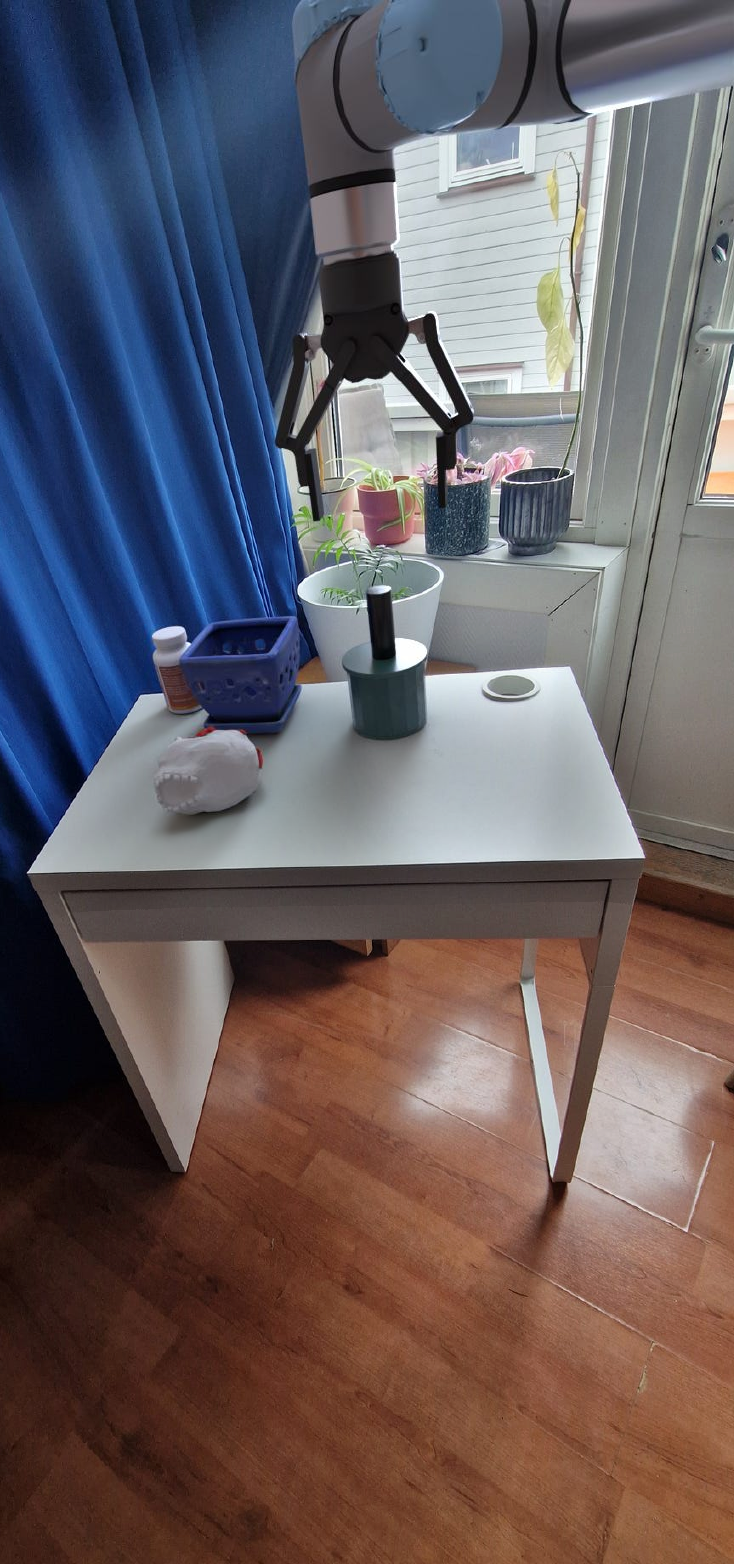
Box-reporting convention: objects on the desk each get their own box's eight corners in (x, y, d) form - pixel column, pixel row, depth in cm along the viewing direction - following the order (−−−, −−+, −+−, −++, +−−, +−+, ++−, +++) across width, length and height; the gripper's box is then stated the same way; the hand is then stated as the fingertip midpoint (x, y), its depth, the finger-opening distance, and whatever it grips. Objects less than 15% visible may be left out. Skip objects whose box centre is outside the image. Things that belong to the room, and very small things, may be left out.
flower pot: (196, 743, 99) (173, 659, 91) (227, 698, 108) (208, 618, 101) (290, 742, 95) (273, 655, 88) (313, 695, 105) (300, 613, 97)
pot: (429, 703, 99) (426, 642, 93) (423, 738, 91) (419, 675, 86) (359, 705, 101) (352, 646, 95) (348, 740, 94) (340, 678, 88)
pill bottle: (217, 701, 108) (199, 628, 101) (184, 719, 105) (163, 644, 98) (192, 692, 112) (173, 620, 105) (160, 709, 109) (137, 636, 102)
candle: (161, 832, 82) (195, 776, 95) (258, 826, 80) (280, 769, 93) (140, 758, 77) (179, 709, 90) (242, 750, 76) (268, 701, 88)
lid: (430, 644, 94) (427, 571, 88) (423, 681, 86) (419, 603, 80) (350, 649, 96) (341, 577, 90) (336, 685, 88) (326, 609, 83)
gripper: (500, 230, 66) (497, 490, 79) (238, 279, 71) (277, 514, 85) (499, 228, 60) (497, 508, 74) (216, 282, 66) (261, 532, 79)
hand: (379, 512), depth 79 cm, fingers open, 13 cm apart
